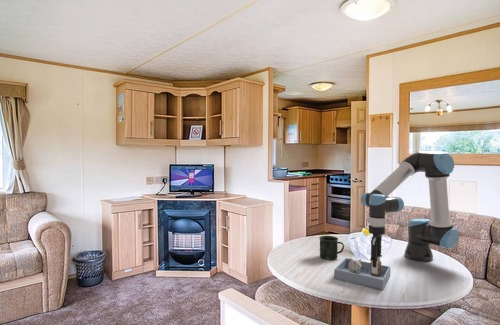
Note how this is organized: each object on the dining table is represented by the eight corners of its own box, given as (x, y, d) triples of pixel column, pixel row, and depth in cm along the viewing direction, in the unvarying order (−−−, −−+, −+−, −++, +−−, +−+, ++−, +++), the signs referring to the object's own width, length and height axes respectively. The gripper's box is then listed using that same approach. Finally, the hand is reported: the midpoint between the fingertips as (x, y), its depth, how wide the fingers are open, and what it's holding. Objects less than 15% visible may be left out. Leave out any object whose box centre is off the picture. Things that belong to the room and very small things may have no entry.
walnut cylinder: (371, 272, 159) (371, 258, 158) (382, 274, 156) (382, 260, 156) (369, 275, 155) (369, 261, 154) (379, 277, 152) (380, 263, 151)
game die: (356, 283, 160) (355, 272, 154) (343, 272, 166) (342, 261, 160) (367, 272, 163) (367, 261, 157) (354, 261, 169) (354, 251, 163)
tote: (345, 266, 173) (345, 257, 173) (390, 276, 161) (390, 266, 160) (334, 278, 158) (334, 269, 157) (382, 290, 145) (383, 280, 144)
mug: (318, 253, 194) (319, 235, 194) (343, 255, 191) (343, 236, 191) (319, 260, 184) (319, 240, 183) (344, 261, 181) (344, 241, 180)
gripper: (372, 220, 164) (372, 264, 165) (364, 228, 149) (363, 275, 150) (388, 222, 159) (387, 267, 160) (381, 230, 144) (380, 279, 146)
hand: (375, 271), depth 155 cm, fingers closed on walnut cylinder, 5 cm apart
